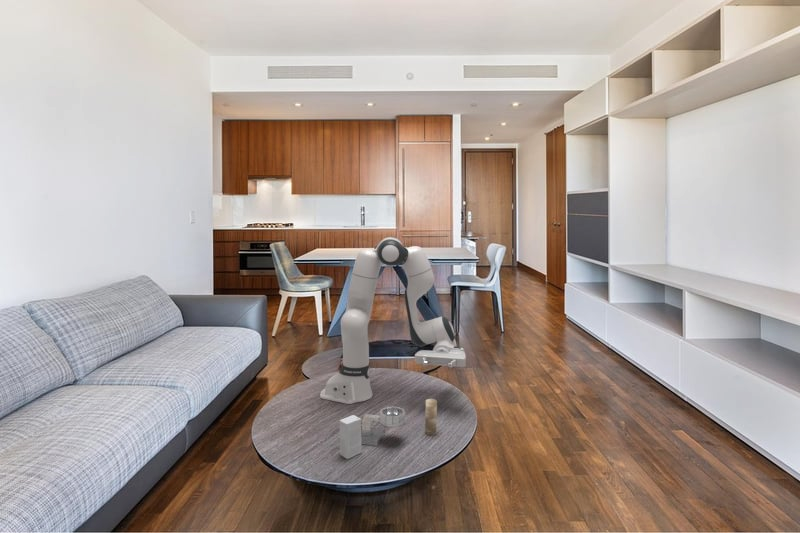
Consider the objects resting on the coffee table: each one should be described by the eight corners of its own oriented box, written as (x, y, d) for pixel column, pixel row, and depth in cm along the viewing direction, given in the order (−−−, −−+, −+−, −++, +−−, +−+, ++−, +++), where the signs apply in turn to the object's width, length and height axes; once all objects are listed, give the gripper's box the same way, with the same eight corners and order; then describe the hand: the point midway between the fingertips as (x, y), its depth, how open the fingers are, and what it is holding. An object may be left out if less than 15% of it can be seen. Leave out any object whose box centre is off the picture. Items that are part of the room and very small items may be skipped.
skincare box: (353, 448, 156) (353, 414, 154) (361, 453, 153) (361, 418, 151) (339, 454, 151) (338, 419, 150) (347, 459, 148) (347, 424, 147)
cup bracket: (349, 442, 159) (349, 413, 158) (358, 429, 169) (358, 401, 168) (401, 449, 155) (401, 419, 154) (408, 435, 165) (408, 407, 163)
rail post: (424, 434, 165) (424, 402, 164) (426, 429, 169) (426, 398, 168) (435, 436, 164) (435, 403, 163) (437, 431, 168) (437, 399, 167)
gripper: (417, 344, 191) (410, 354, 178) (467, 348, 186) (464, 358, 173) (417, 359, 192) (410, 370, 179) (467, 363, 187) (463, 375, 174)
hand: (437, 365), depth 176 cm, fingers open, 8 cm apart
